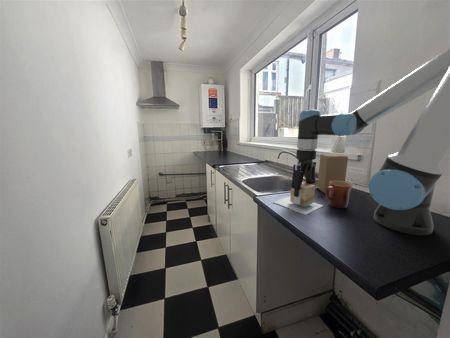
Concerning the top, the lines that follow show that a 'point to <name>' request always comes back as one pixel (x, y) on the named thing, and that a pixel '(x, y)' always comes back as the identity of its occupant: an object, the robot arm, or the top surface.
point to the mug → (338, 193)
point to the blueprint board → (298, 206)
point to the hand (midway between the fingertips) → (302, 201)
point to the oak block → (305, 194)
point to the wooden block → (331, 169)
